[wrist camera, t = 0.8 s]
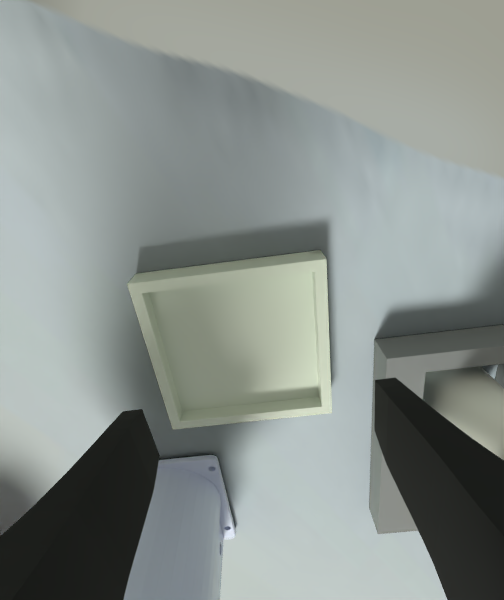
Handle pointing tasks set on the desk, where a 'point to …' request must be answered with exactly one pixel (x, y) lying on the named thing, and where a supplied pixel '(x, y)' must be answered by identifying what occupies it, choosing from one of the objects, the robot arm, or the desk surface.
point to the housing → (411, 372)
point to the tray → (238, 338)
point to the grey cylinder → (469, 403)
